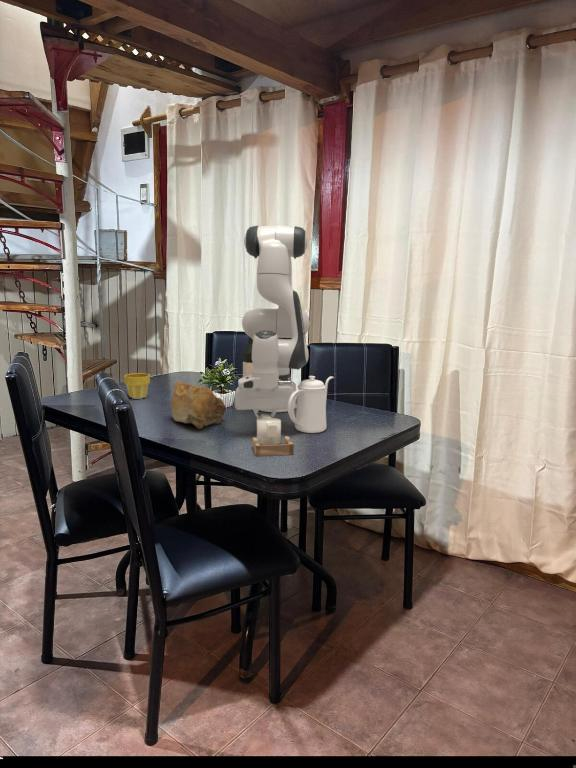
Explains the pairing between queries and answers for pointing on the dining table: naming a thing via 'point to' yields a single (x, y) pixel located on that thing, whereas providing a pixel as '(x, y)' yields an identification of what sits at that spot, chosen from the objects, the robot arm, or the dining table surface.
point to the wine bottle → (248, 358)
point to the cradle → (273, 448)
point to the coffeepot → (309, 406)
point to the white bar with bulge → (268, 430)
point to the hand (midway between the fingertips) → (264, 421)
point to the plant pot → (137, 384)
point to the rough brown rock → (196, 405)
